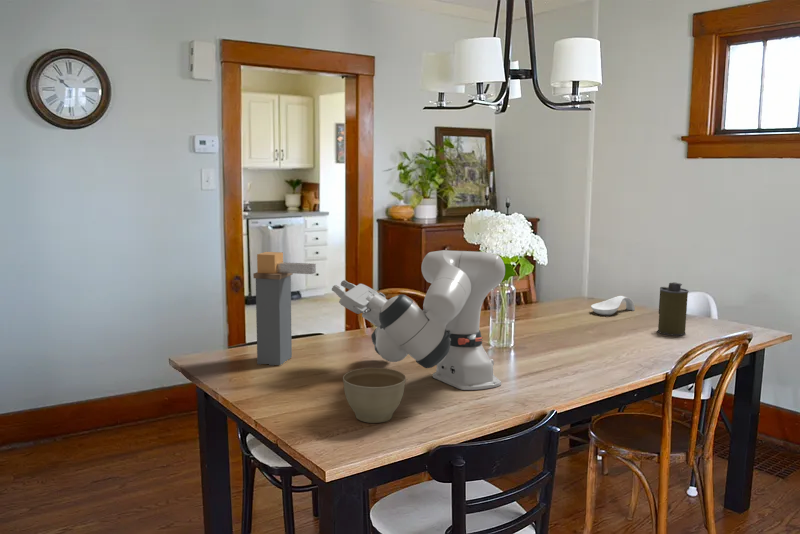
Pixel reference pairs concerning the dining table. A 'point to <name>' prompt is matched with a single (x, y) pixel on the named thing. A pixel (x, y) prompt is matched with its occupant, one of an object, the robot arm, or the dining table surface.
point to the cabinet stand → (273, 317)
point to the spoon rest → (612, 305)
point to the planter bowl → (374, 393)
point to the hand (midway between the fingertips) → (337, 284)
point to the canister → (672, 310)
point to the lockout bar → (281, 264)
